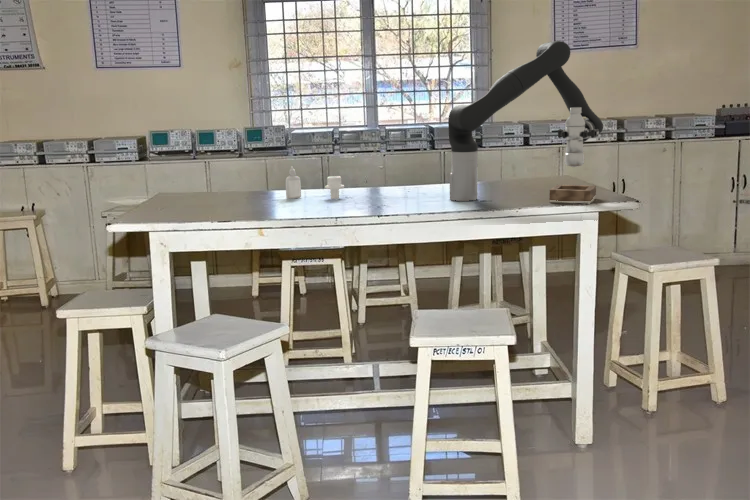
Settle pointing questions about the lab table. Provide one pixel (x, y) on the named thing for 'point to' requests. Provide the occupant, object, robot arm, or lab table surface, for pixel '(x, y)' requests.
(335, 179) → the pipe fitting
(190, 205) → the lab table surface
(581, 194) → the wooden square frame
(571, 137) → the plastic bottle
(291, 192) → the eye dropper bottle
